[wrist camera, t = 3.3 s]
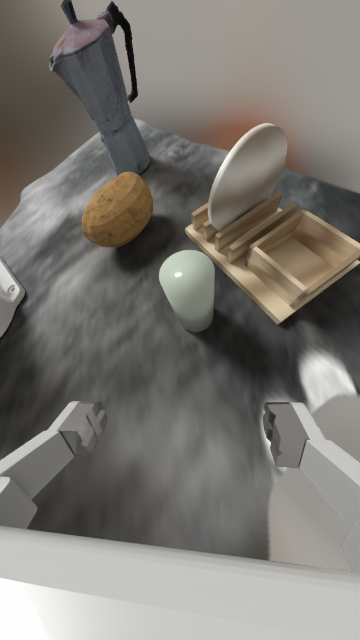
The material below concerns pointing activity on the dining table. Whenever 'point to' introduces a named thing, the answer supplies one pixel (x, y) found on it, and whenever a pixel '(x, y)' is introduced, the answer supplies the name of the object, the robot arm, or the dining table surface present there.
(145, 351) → the dining table surface
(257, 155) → the rack
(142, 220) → the potato
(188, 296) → the pale green glossy part
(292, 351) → the dining table surface
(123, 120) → the moka pot
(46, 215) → the dining table surface
